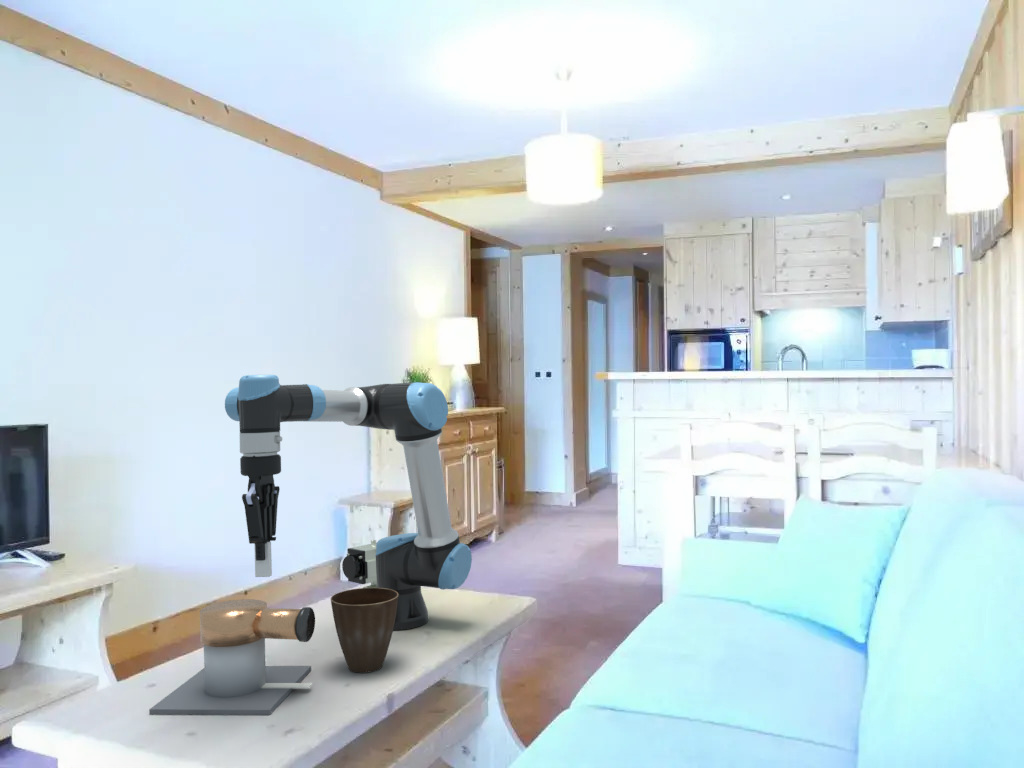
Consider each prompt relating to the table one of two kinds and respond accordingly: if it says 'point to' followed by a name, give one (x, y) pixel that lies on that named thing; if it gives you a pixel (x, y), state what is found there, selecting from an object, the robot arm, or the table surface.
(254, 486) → the robot arm
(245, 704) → the duct stub
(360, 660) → the plant pot
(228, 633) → the copper flat bottle shape
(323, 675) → the table surface
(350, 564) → the ball valve
